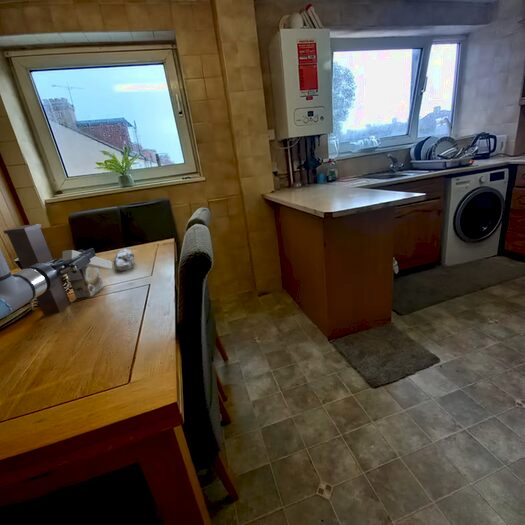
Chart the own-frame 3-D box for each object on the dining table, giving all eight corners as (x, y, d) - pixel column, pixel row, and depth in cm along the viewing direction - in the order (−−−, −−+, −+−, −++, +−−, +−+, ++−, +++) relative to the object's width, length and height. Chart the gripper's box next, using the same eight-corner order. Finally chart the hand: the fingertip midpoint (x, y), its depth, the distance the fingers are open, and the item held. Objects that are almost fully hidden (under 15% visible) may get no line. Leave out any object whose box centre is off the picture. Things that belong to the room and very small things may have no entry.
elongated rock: (135, 253, 161) (116, 258, 157) (132, 245, 159) (113, 250, 156) (137, 267, 130) (115, 274, 127) (134, 256, 129) (110, 263, 125)
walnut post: (41, 314, 96) (3, 230, 86) (55, 305, 102) (21, 225, 92) (60, 312, 96) (24, 228, 85) (72, 303, 102) (40, 223, 92)
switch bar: (62, 260, 83) (62, 251, 84) (104, 269, 103) (104, 261, 104) (71, 259, 83) (72, 249, 84) (111, 268, 103) (111, 261, 103)
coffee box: (91, 297, 106) (76, 257, 100) (75, 298, 106) (59, 259, 100) (105, 286, 114) (92, 249, 109) (90, 287, 115) (76, 251, 109)
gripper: (10, 297, 73) (69, 265, 95) (69, 291, 72) (114, 260, 94) (-3, 271, 70) (61, 244, 92) (58, 264, 69) (107, 239, 91)
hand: (88, 252), depth 93 cm, fingers closed on switch bar, 3 cm apart
